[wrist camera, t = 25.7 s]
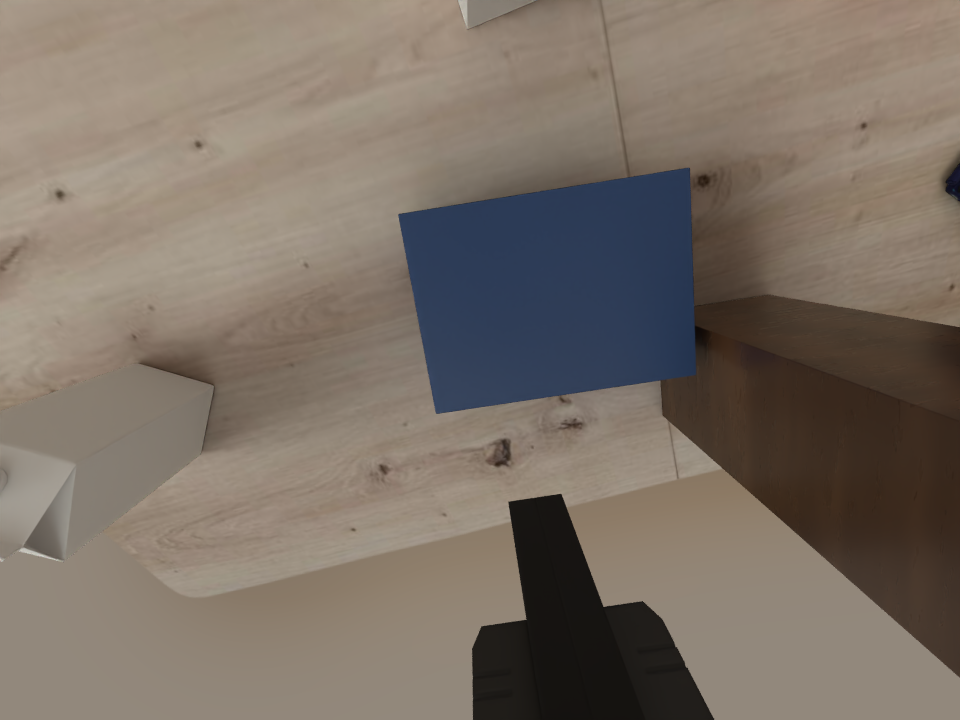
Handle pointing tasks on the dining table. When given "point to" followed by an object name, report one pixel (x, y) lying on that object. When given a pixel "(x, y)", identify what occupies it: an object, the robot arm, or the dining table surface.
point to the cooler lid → (555, 290)
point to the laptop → (954, 184)
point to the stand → (841, 442)
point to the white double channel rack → (487, 9)
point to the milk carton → (93, 455)
